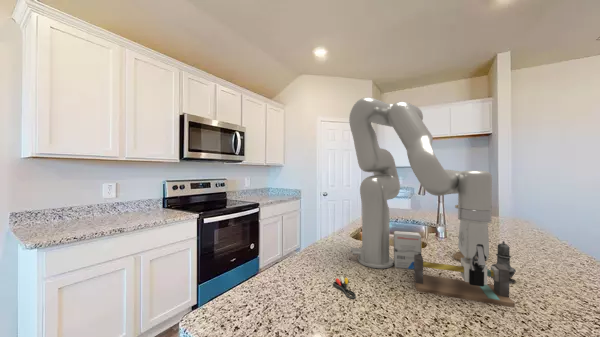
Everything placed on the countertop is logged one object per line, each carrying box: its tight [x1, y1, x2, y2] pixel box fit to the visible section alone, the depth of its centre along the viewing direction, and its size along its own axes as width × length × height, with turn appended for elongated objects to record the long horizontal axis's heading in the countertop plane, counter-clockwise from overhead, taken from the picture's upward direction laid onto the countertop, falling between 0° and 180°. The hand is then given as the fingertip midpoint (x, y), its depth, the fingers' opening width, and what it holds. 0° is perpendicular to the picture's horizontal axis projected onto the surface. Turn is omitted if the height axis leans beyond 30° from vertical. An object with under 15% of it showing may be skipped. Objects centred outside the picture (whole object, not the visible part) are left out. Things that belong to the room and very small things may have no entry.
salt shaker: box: [490, 240, 517, 284], centre depth 76 cm, size 6×6×12 cm
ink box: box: [393, 230, 422, 270], centre depth 85 cm, size 9×5×12 cm, turn 72°
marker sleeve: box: [460, 258, 488, 285], centre depth 67 cm, size 5×4×5 cm
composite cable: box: [332, 275, 357, 300], centre depth 68 cm, size 10×5×2 cm, turn 7°
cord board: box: [412, 254, 516, 308], centre depth 69 cm, size 22×10×8 cm, turn 69°
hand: (473, 280), depth 67 cm, fingers closed on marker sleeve, 4 cm apart
